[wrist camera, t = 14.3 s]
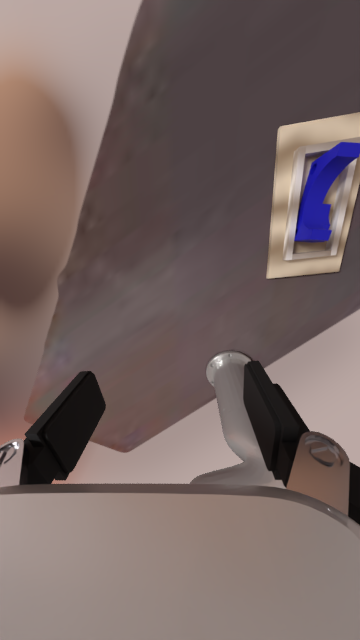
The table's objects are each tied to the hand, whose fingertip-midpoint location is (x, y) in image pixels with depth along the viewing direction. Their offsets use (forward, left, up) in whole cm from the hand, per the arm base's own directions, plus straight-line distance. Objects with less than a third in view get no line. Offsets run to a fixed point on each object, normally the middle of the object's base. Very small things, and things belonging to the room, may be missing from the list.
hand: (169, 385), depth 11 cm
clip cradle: (+12, -25, -30) cm, 41 cm away
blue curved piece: (+12, -25, -30) cm, 41 cm away
